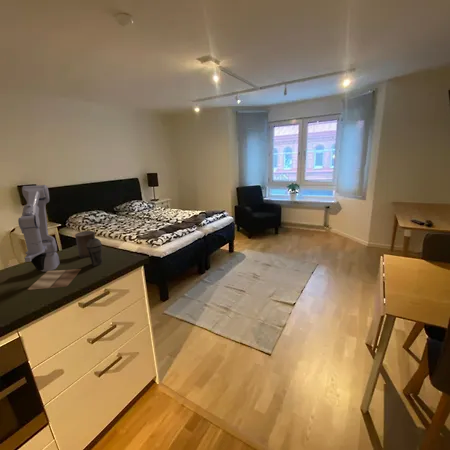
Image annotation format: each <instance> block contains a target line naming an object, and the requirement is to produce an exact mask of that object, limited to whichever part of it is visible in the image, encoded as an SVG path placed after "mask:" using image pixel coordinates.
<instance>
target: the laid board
mask: <svg viewBox="0 0 450 450" xmlns="http://www.w3.org/2000/svg"><path fill="white" fill-rule="evenodd" d="M65 270H66V271H65V272H64V273H63V274H62V275H61V276H60V277H59V278H58V279H57V280H56V281H55V282H54V283H53V284H52V285H51V286H50V287H49V289H56V288H67V287H68V286H69V285H70V284H71V283H72V281H73V280H74V279H75V277H77V275H78V274H79V273H80V271H81V270H82V268H77V269H75V268H74V269H65Z"/></svg>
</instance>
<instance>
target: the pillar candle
mask: <svg viewBox="0 0 450 450" xmlns="http://www.w3.org/2000/svg"><path fill="white" fill-rule="evenodd" d="M74 236H75V242H76V248H77V250H78V251H77V252H78V257H79V258H80V259H86V258H87V259H88V258H90V255H89V251H88V249H87V242H88V240H90V239H91V238H94V230H84V231H79V232H77V233H75V234H74Z"/></svg>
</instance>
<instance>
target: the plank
mask: <svg viewBox="0 0 450 450" xmlns="http://www.w3.org/2000/svg"><path fill="white" fill-rule="evenodd" d="M66 270H67V269H61V270H58V269H57V270H56V269H54V270H51V271H46V272H45V273H43V275H41V276H40V277H39V278H38V279H37V280H36V281H35V282H34V283H32V285H30V286H29V287H28V288H26V290H27V291H35V290H44V289H50V287H51V286H52V285H53V284H54V283H55V282H56V281H57V280H58V279H59V278H60V277H61V276H62V275H63V273H64V272H65V271H66Z"/></svg>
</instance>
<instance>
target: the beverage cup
mask: <svg viewBox="0 0 450 450" xmlns="http://www.w3.org/2000/svg"><path fill="white" fill-rule="evenodd" d="M93 232H94V238H91V239H90V240H88V242H87V249H88V251H89V255H90V257H89V258H90V262H91V265H92V266H94V267H95V266H97V267H98V266H101V265H102V264H103V253H102V252H103V251H102V249H103V248H102V247H103V243H102V241H101V240H100V239H99V238H97V237H96V230H95V229H93Z"/></svg>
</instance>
